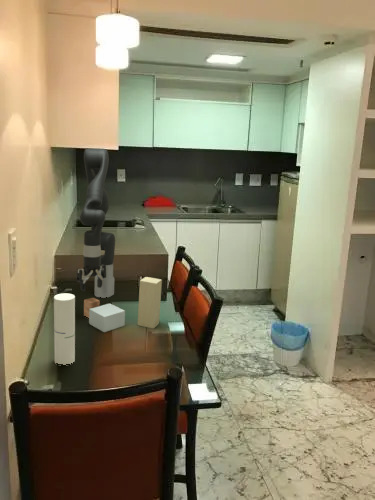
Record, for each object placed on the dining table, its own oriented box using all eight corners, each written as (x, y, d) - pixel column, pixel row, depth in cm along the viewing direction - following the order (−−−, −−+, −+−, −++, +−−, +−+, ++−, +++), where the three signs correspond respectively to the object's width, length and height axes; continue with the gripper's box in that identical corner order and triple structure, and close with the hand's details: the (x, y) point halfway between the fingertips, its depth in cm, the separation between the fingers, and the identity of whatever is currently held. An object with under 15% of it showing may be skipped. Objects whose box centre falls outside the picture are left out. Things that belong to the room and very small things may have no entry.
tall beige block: (160, 322, 202) (162, 278, 197) (153, 328, 195) (156, 283, 190) (144, 319, 204) (146, 276, 199) (137, 325, 197) (139, 280, 192)
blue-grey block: (109, 317, 204) (109, 303, 202) (124, 325, 196) (125, 310, 195) (89, 323, 196) (89, 309, 194) (104, 332, 189) (104, 316, 187)
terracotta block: (92, 313, 207) (93, 297, 205) (99, 317, 204) (99, 300, 202) (83, 316, 203) (83, 299, 201) (90, 319, 200) (90, 303, 198)
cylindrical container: (56, 355, 167) (56, 292, 160) (76, 356, 167) (76, 293, 161) (52, 365, 160) (52, 300, 153) (73, 365, 160) (73, 300, 154)
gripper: (100, 250, 204) (99, 284, 208) (73, 254, 194) (72, 289, 197) (110, 254, 199) (109, 288, 203) (83, 258, 189) (82, 294, 193)
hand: (91, 289), depth 200 cm, fingers open, 8 cm apart
